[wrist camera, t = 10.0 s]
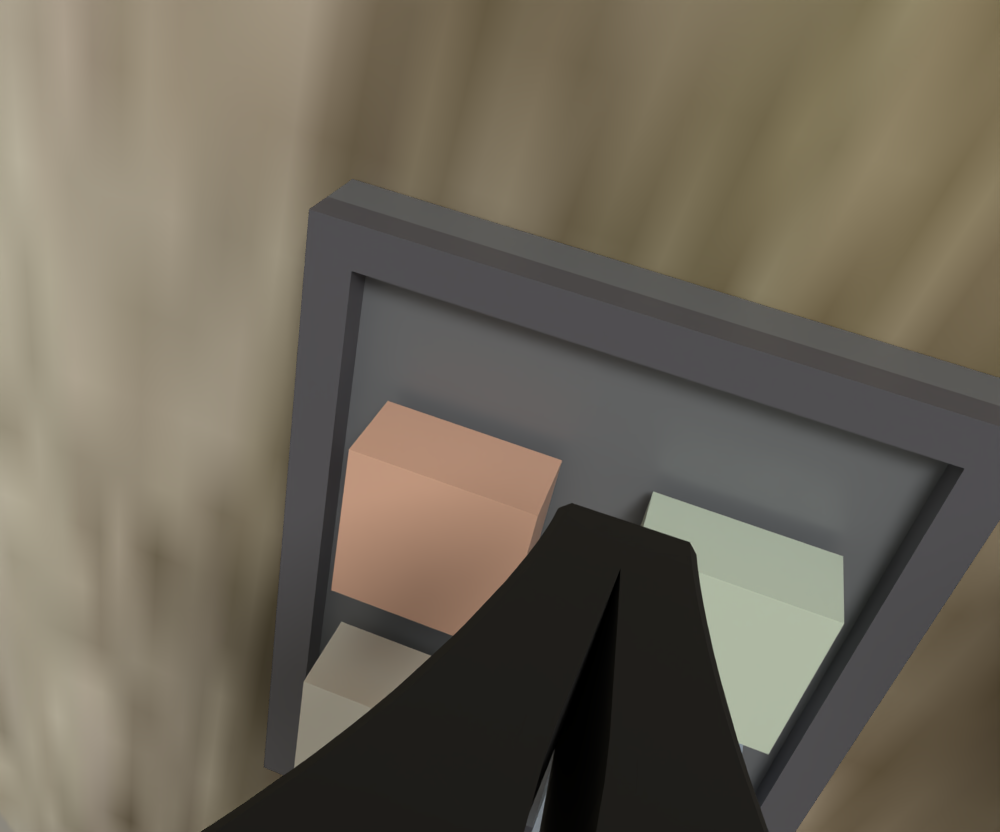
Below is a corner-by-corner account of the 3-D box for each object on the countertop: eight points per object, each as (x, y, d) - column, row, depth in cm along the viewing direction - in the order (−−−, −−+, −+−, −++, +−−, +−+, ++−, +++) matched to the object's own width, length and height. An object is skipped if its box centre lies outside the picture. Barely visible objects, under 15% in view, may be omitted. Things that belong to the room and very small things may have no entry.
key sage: (842, 556, 19) (843, 623, 17) (773, 684, 21) (768, 754, 20) (653, 491, 19) (636, 550, 18) (605, 622, 22) (586, 686, 20)
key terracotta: (561, 460, 20) (537, 516, 18) (523, 593, 22) (499, 653, 20) (387, 400, 20) (348, 449, 19) (367, 536, 23) (331, 589, 21)
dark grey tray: (1030, 387, 18) (1050, 442, 16) (723, 887, 28) (716, 952, 26) (352, 179, 20) (309, 208, 18) (295, 716, 30) (263, 767, 28)
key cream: (494, 680, 22) (468, 746, 21) (466, 779, 24) (440, 845, 23) (341, 621, 23) (303, 681, 21) (327, 723, 25) (292, 785, 23)
